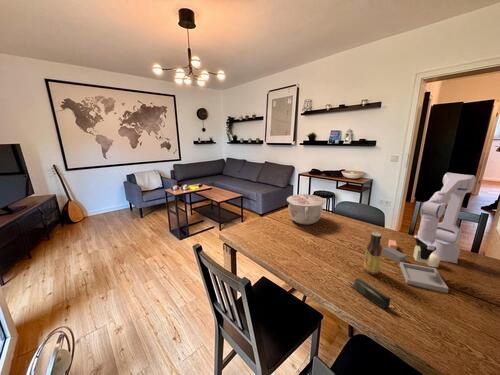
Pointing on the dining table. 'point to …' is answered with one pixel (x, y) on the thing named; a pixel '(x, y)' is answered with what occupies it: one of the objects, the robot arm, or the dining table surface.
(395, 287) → the dining table surface
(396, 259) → the grey rectangular block
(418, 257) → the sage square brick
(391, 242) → the terracotta slim brick
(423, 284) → the grey tray
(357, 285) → the dark grey bar
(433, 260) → the cream round brick
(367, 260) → the sauce bottle
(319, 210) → the chamber pot
